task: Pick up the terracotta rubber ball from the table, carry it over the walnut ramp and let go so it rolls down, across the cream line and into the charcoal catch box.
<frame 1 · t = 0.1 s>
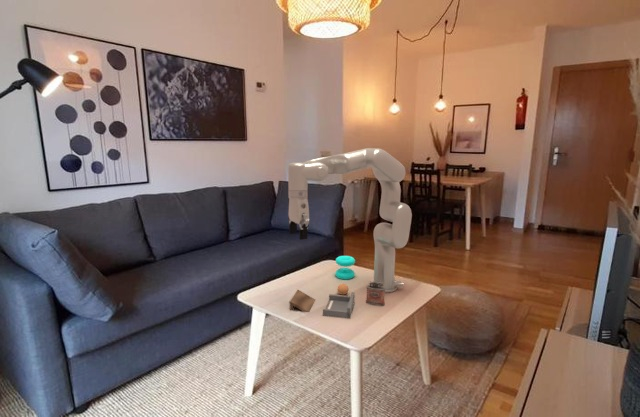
hand: (298, 236, 142), 31 cm above the table, tool pointing down, fingers open, 9 cm apart
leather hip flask: (375, 304, 152), on the table
ball: (342, 294, 161), on the table
catch box: (339, 308, 148), on the table
ramp: (303, 304, 151), on the table
donuts: (345, 276, 183), on the table
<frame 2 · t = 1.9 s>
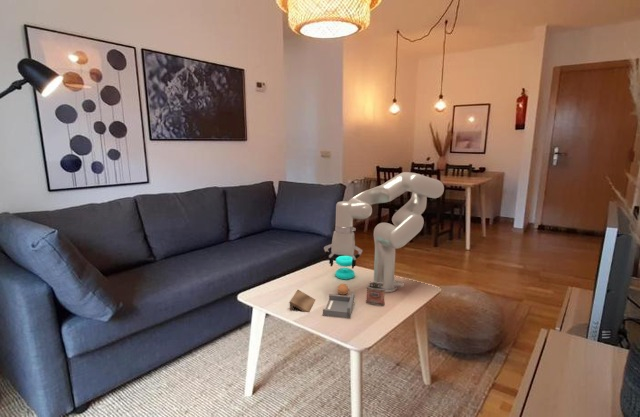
hand: (342, 266, 158), 14 cm above the table, tool pointing down, fingers open, 9 cm apart
nothing on the table moved.
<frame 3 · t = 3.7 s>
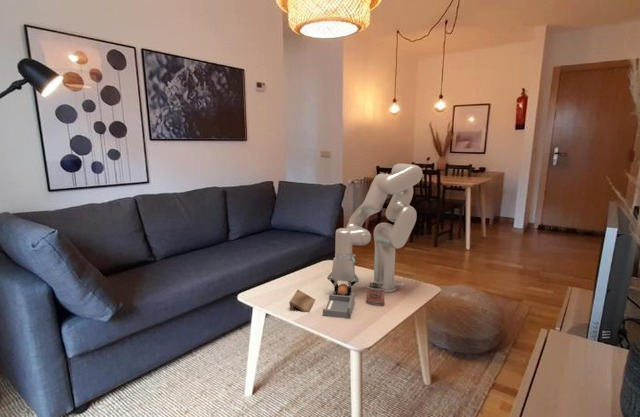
hand: (342, 293, 161), 0 cm above the table, tool pointing down, fingers closed on ball, 4 cm apart
ball: (342, 294, 161), on the table, touching gripper
everything else where it was.
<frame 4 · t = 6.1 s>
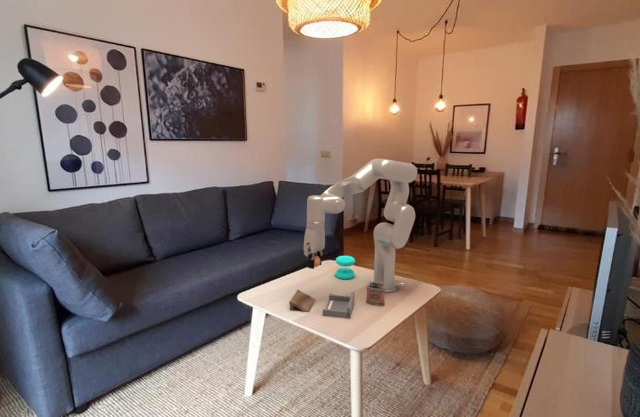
hand: (314, 265, 151), 16 cm above the table, tool pointing down, fingers closed on ball, 4 cm apart
ball: (314, 266, 151), point 16 cm above the table, touching gripper
everything else where it was.
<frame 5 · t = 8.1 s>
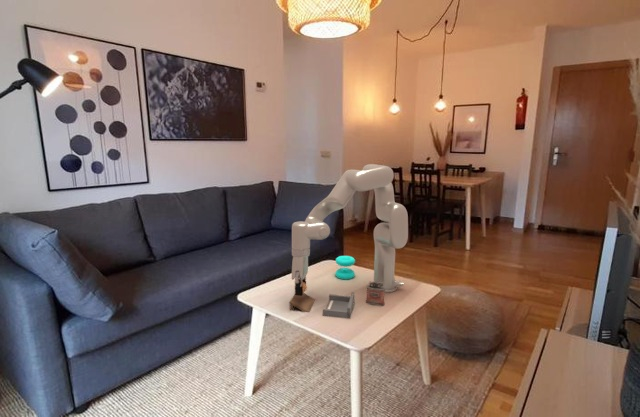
hand: (300, 292, 150), 6 cm above the table, tool pointing down, fingers closed on ball, 4 cm apart
ball: (300, 292, 150), point 5 cm above the table, touching gripper
everything else where it was.
when the fingers open (4 cm above the table, at t = 8.7 s): ball drops 1 cm and tips over, resting on catch box.
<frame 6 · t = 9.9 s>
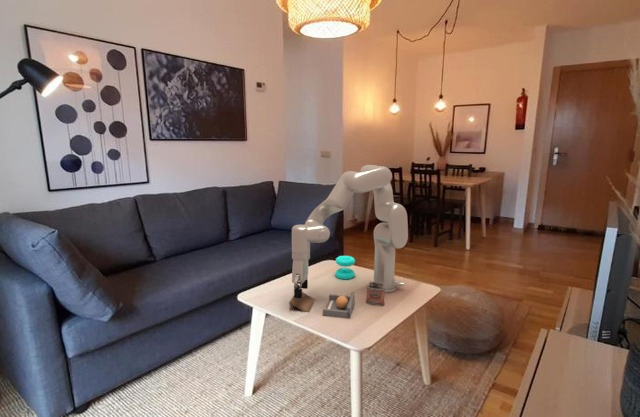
hand: (301, 292, 150), 5 cm above the table, tool pointing down, fingers open, 9 cm apart
ball: (336, 301, 147), point 3 cm above the table, tilted 87°, touching catch box
everything else where it was.
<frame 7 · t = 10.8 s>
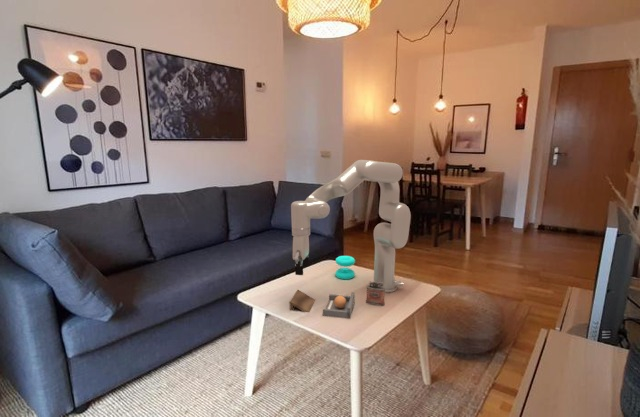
hand: (302, 270, 148), 15 cm above the table, tool pointing down, fingers open, 9 cm apart
ball: (334, 303, 148), point 2 cm above the table, tilted 69°, touching catch box
everything else where it was.
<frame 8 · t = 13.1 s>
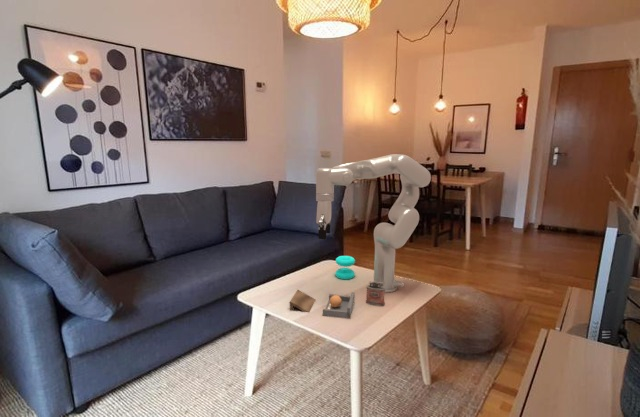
hand: (324, 235, 153), 28 cm above the table, tool pointing down, fingers open, 9 cm apart
ball: (333, 306, 148), point 1 cm above the table, tilted 25°, touching catch box
everything else where it was.
at the end: ball inside the target area (2.7 cm from its centre), point 0.6 cm above the table; the gripper is holding nothing; ball moved 14.0 cm from its start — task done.
